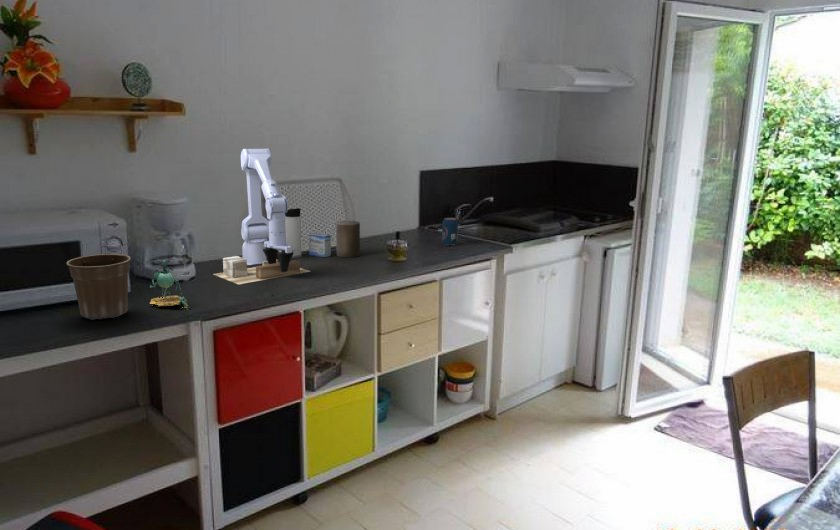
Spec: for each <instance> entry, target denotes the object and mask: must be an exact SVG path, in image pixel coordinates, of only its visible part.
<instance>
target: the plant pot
mask: <svg viewBox="0 0 840 530" xmlns="http://www.w3.org/2000/svg"><path fill="white" fill-rule="evenodd" d="M131 260H132V259H131V256H129V255H127V254H121V253H106V254H105V253H103V254H92V255H85V256H79V257H76V258H72V259H70V260H67V262H66V266H68V269H69V273H70V277H71V279H72V280H73V285H74V291H75V294H76V299H77V302H78V308H79V309H78V310H79V315H80V316H81V315H82V316H85V317H91V318H104V319H108V318H107V317H114V316H118V315H122V314H124V313H126V312H127V311H128V310H129V308H128V307H129V305H128V303H129V302H128V301H129V296H128V295H129V294H128V292H129V289H128V288H129V282H128V281H129V279H128V277H129V276H128V275H129V272H130V269H129V268H130V261H131ZM128 312H129V311H128ZM128 312H127V313H128ZM127 313H126V314H127Z"/></svg>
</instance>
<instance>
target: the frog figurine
mask: <svg viewBox="0 0 840 530" xmlns="http://www.w3.org/2000/svg"><path fill="white" fill-rule="evenodd" d="M173 271H174V269H173V268H172V267H169V268H167V261H166V260H162V270H160V272H159V270H158V269H155V270H153V276H154V278H155V279H156V281H155V279H152V280H151V282H152V284H153V286H152V285H149V288H150V289H152V288H155V287H156V286H157V285H158V286H159V287H161V294H162V296H159V297H160V298H159V297H154V298H151V299H150V302H149V305H150V304H155V305H158V306H157V307H167V306H168V307H169V306H170V307H171V306H176V305H177V306H180V305H181V304H182V305H183V306H184V308H188V307H189V305H188V301H187V299H186V298H185V295H183V293H182V292H180V296H179V295H171V292H170V291H167V290H168V288H170V287H172V286H173V285H174V283H176V288H175V292H177V291H178V287H179V291H181V290H182V288H181V286H180V285H181V284H180V282H179V280H177V279H175V277H174V275H173ZM167 294H169V295H167ZM162 297H163V298H162ZM182 308H183V307H182ZM182 308H181V309H182ZM189 308H190V307H189Z"/></svg>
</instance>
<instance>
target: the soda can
mask: <svg viewBox="0 0 840 530" xmlns="http://www.w3.org/2000/svg"><path fill="white" fill-rule="evenodd" d="M441 223H442V225H441V226H442V227H441V228H442V229H441V243H442V244H443V243H444V244H456V243H457V244H458V232H459V231H458V230H459V229H458V228H459V222H458V220H457V218H456V217H443V220H442V222H441ZM457 244H456V245H457Z"/></svg>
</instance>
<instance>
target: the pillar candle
mask: <svg viewBox="0 0 840 530" xmlns="http://www.w3.org/2000/svg"><path fill="white" fill-rule="evenodd" d="M360 224H361V223H360V221H356V220H339V221H337V222H335V230H336V231H335V232H336V234H335V236H336V237H335V238H336V239H335V240H336V241H335V242H336V248H335V249H336V256H337V257H339V258H348V259H349V258H358V257H360V256H361V230H360V229H361V225H360Z"/></svg>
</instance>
